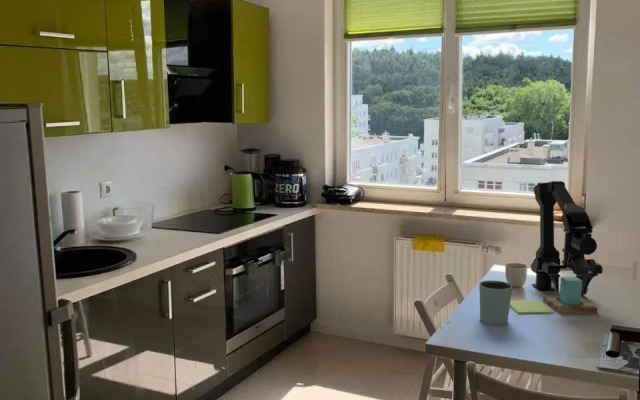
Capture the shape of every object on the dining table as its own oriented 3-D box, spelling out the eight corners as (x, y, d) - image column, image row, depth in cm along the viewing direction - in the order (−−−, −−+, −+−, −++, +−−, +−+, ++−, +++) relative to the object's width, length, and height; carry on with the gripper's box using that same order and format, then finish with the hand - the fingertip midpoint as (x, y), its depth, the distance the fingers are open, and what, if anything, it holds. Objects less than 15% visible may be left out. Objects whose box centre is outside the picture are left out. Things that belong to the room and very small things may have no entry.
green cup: (474, 323, 200) (475, 286, 198) (481, 313, 209) (483, 278, 207) (506, 328, 196) (508, 290, 194) (513, 318, 204) (515, 282, 203)
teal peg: (559, 304, 218) (560, 276, 217) (573, 304, 218) (575, 276, 217) (565, 309, 213) (567, 280, 212) (579, 309, 213) (581, 280, 212)
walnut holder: (543, 301, 222) (543, 295, 222) (579, 300, 223) (579, 295, 222) (558, 313, 209) (559, 307, 209) (597, 313, 210) (597, 307, 209)
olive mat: (505, 302, 221) (505, 300, 221) (539, 301, 221) (539, 300, 221) (518, 313, 209) (518, 312, 209) (553, 313, 209) (553, 311, 209)
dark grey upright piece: (584, 295, 229) (587, 263, 227) (590, 300, 223) (592, 267, 221) (568, 294, 229) (570, 262, 227) (572, 299, 223) (575, 266, 222)
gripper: (556, 253, 204) (553, 300, 207) (612, 253, 205) (609, 299, 208) (542, 245, 215) (539, 290, 218) (596, 245, 216) (592, 289, 219)
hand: (570, 292), depth 215 cm, fingers open, 9 cm apart
